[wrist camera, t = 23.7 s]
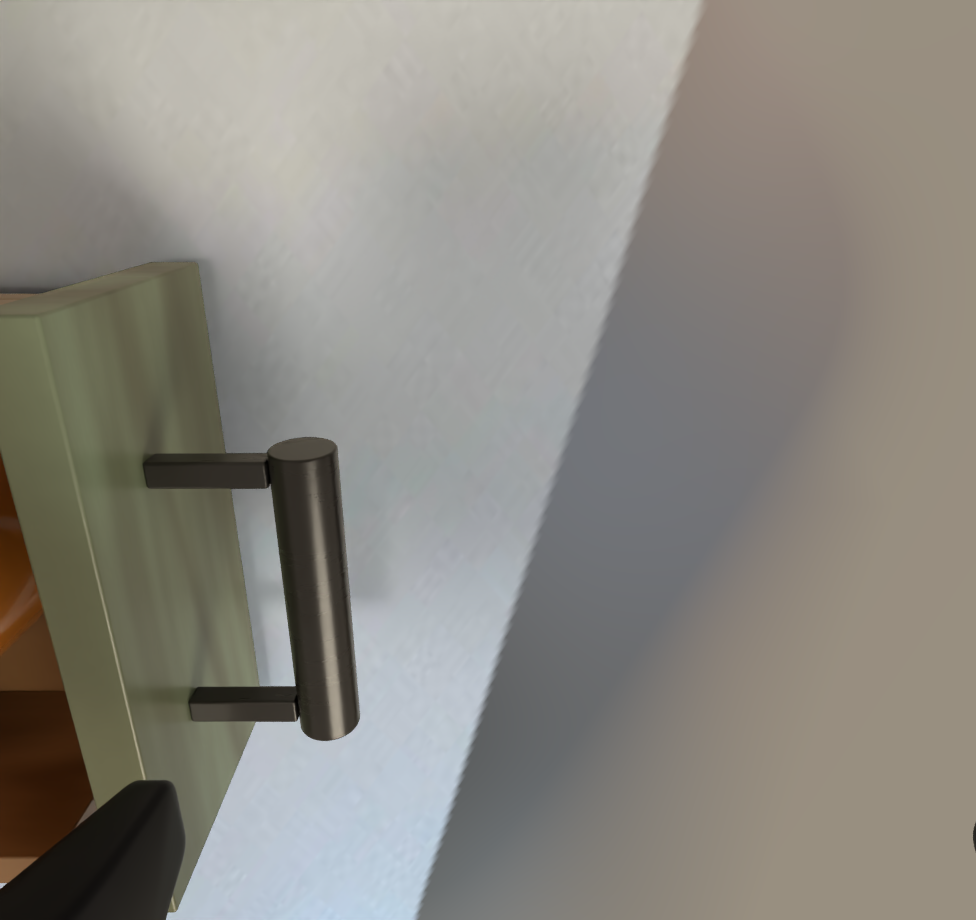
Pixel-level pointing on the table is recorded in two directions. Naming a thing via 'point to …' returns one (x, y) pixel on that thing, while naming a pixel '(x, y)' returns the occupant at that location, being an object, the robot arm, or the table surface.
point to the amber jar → (14, 574)
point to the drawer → (149, 564)
